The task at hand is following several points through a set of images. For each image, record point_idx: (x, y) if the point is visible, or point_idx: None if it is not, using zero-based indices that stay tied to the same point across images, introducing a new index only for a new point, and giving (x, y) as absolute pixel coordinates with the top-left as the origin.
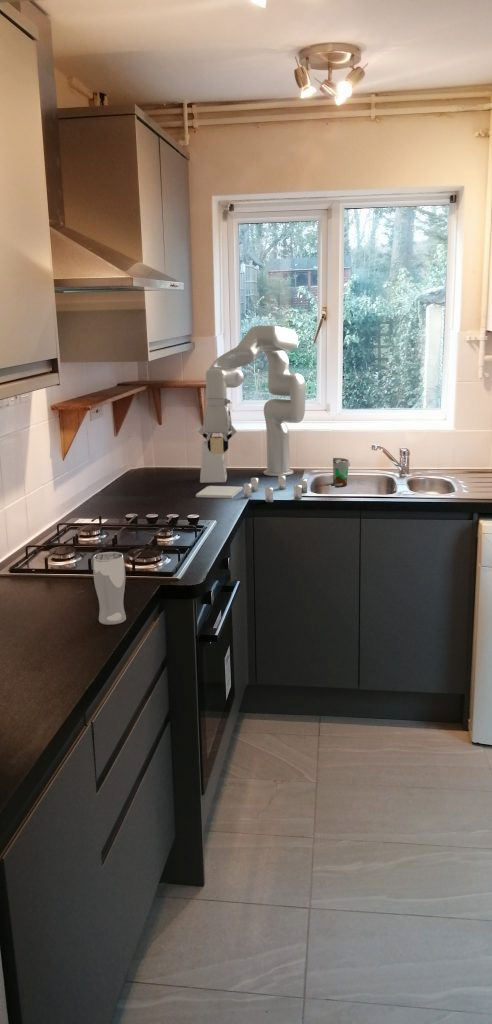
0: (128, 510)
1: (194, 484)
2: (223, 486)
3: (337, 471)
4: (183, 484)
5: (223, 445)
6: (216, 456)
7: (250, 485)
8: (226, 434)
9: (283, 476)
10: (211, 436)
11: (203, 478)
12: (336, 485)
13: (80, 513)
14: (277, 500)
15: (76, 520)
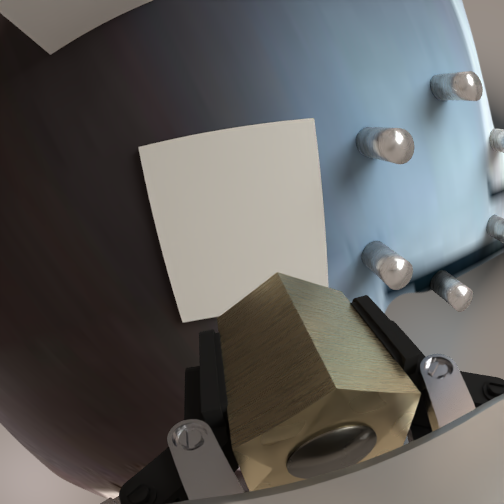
0: (121, 458)
1: (44, 99)
2: (218, 134)
3: None
4: (7, 122)
5: None
6: None
7: (409, 275)
8: (454, 419)
9: (479, 92)
10: (228, 465)
11: (56, 40)
12: None
13: (67, 473)
14: (455, 261)
15: (104, 496)
